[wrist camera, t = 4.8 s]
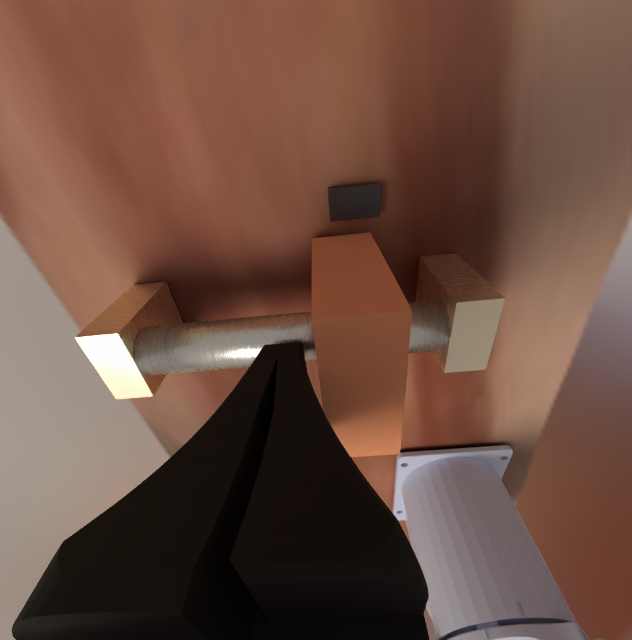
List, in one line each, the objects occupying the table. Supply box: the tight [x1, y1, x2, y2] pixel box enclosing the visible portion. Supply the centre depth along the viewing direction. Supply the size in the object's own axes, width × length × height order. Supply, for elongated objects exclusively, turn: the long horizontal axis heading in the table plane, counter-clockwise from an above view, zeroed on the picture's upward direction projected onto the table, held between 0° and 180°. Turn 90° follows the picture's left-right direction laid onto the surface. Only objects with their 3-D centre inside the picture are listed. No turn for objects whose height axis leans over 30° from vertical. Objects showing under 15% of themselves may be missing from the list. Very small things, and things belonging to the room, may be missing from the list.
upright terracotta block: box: [312, 232, 412, 457], centre depth 12 cm, size 2×6×6 cm, turn 6°
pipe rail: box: [75, 182, 505, 399], centre depth 13 cm, size 15×10×4 cm, turn 96°
